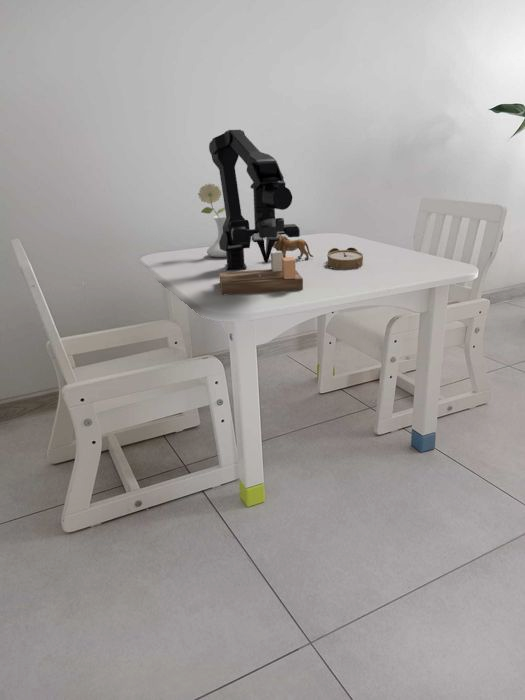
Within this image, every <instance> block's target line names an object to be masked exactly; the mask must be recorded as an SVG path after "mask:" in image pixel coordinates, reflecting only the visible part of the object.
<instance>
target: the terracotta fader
mask: <svg viewBox="0 0 525 700" xmlns="http://www.w3.org/2000/svg"><path fill="white" fill-rule="evenodd" d="M295 269H296V259H295V258H294V257H293V256H286V257H284V258H282V276H283V278H284V279H294V278H296V275H295Z"/></svg>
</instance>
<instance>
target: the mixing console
mask: <svg viewBox="0 0 525 700" xmlns="http://www.w3.org/2000/svg"><path fill="white" fill-rule="evenodd" d="M218 275H219V285H220V289H221V290H220V291H221V295H222V296H225V295H224V294H229V295H241V294H253V293H255V294H256V293H258V294H259V293H271V292H282V291H283V292H284V291H285V292H286V291H299V290H304V280H303V279H304V278H303V277H302V276H301V275H300V273H299V272H298V270H297V269H296V268H295V275H296V278H294V279H284V278H283V276H282V271H277V272H273V271H272V269H271V268H270V269H269V268H267V269H257V270H256V269H254V270H253V269H251V270H239V271H238V270H237V271H224V272H221V271H220V272H219V274H218Z"/></svg>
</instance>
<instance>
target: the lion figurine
mask: <svg viewBox="0 0 525 700" xmlns="http://www.w3.org/2000/svg"><path fill="white" fill-rule="evenodd" d="M278 238H279V241H276V242H275V243H274V245H273V247H272V249H275V251H281V252H282V253H283V258H284V257H287V256H286V254H287V252H293V251H296V250H297V249H298V250H299V252H300V254H299V255H298V256H297V258H298V259H301V258H302V257H303V256H304V255H305V257H304V260H305V261H308V260H309V258H310V257H311V258H314V255H313V254H311V252H310V248H309V245H308V243H307V241H306V240H304V239H302V238H299V239H294V240H291V239H288V237H287V236H283V234H281V235H279V236H278ZM306 249H307V250H306Z"/></svg>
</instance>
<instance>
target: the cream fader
mask: <svg viewBox="0 0 525 700" xmlns="http://www.w3.org/2000/svg"><path fill="white" fill-rule="evenodd" d="M282 258H283V253H282V252H281V251H277V250H273V251H272V250H271V253H270V269H272V271H273V272H277V271H282Z"/></svg>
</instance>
